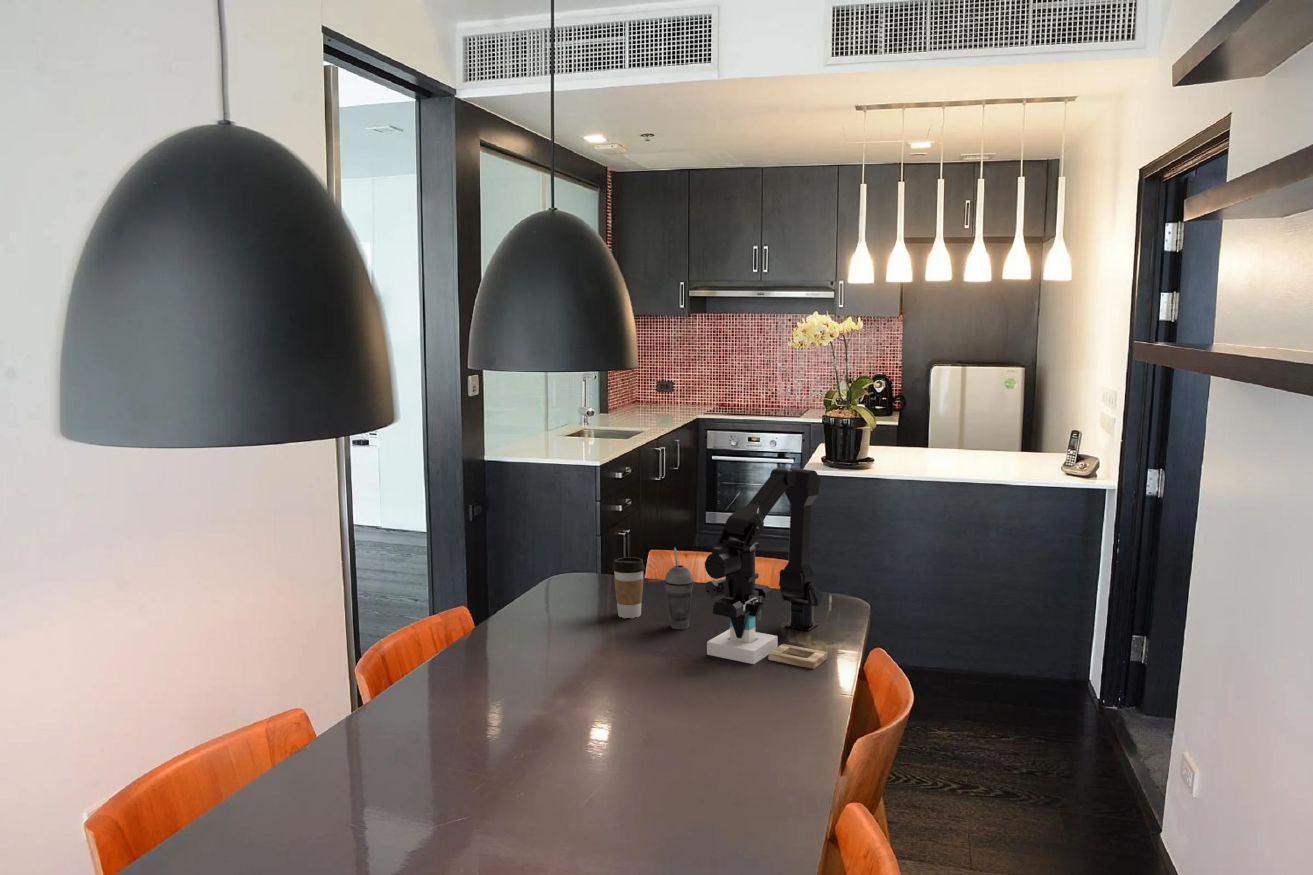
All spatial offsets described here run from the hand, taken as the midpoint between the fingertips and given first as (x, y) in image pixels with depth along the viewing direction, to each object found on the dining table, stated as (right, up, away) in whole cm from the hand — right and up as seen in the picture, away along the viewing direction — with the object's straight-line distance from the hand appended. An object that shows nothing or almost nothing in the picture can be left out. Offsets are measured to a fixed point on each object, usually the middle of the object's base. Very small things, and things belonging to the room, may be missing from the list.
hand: (742, 635), depth 216 cm
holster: (+12, -4, -5) cm, 14 cm away
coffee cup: (-27, -1, +29) cm, 39 cm away
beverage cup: (-14, -2, +19) cm, 24 cm away
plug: (0, -2, 0) cm, 2 cm away
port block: (0, -4, 0) cm, 4 cm away
